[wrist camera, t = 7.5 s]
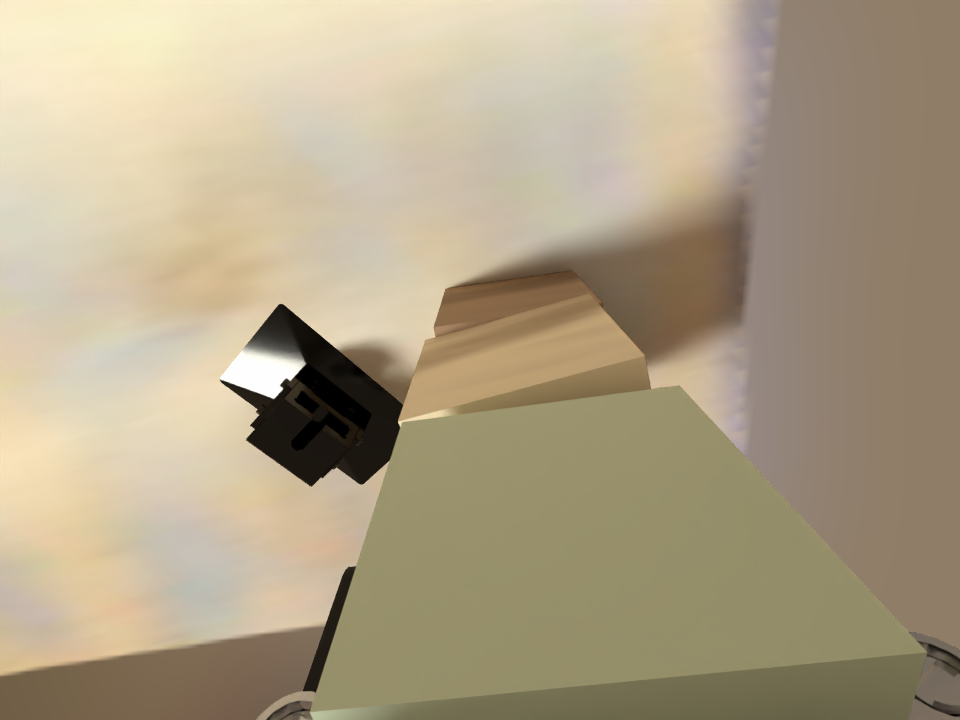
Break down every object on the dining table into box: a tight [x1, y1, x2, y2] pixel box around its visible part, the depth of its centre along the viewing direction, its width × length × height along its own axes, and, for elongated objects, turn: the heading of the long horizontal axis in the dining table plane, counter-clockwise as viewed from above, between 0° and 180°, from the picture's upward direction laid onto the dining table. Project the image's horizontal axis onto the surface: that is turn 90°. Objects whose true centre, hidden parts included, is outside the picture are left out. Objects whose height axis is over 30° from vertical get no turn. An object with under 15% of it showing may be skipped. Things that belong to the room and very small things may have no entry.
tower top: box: [398, 294, 651, 427], centre depth 15 cm, size 6×6×6 cm
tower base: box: [434, 270, 603, 337], centre depth 21 cm, size 6×6×6 cm
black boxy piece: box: [220, 304, 403, 486], centre depth 23 cm, size 12×7×5 cm, turn 46°
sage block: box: [310, 386, 927, 720], centre depth 8 cm, size 6×6×6 cm
